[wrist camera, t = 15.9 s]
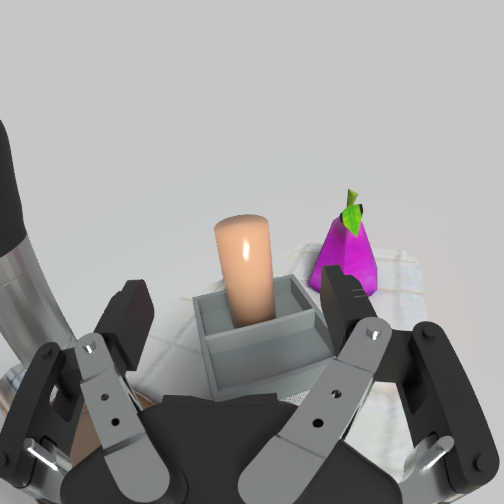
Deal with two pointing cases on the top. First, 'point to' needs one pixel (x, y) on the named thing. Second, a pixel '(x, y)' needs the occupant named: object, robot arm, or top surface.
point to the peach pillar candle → (247, 268)
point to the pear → (348, 249)
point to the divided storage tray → (264, 345)
